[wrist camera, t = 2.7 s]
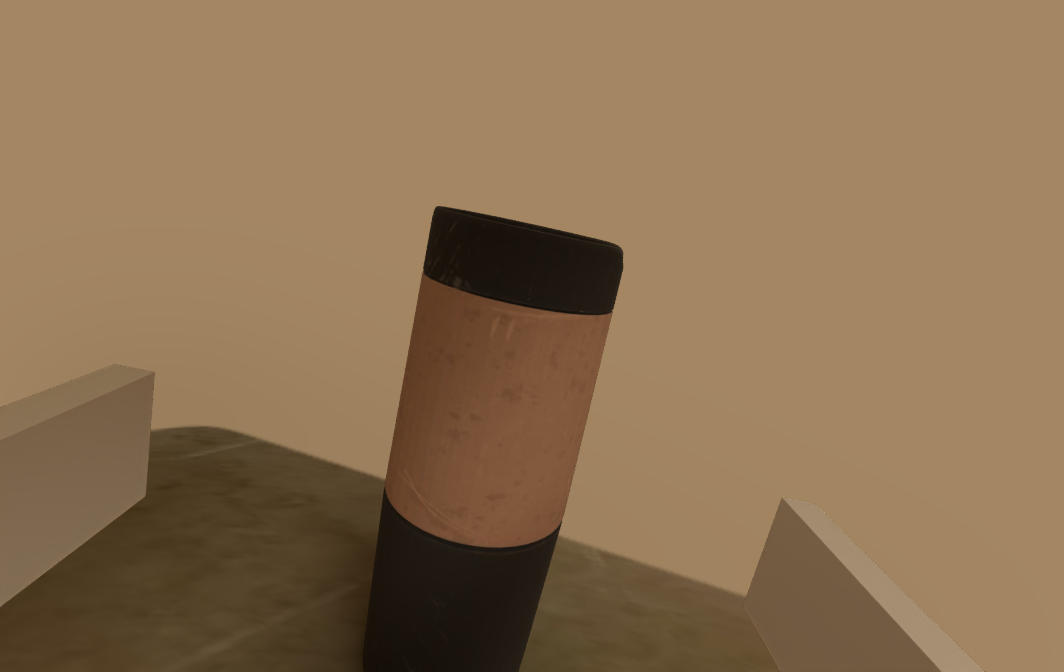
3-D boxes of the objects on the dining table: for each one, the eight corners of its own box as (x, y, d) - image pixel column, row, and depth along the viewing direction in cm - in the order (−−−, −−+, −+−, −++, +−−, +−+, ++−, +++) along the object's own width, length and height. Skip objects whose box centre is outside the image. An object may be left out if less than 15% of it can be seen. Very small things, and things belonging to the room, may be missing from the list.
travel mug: (334, 622, 26) (399, 197, 21) (473, 584, 30) (551, 227, 26) (393, 770, 20) (499, 224, 15) (555, 695, 24) (673, 257, 20)
